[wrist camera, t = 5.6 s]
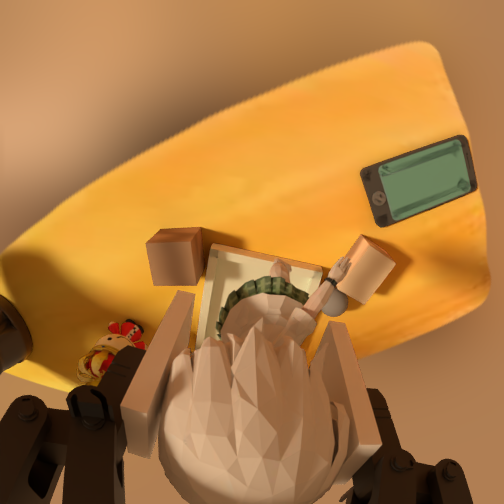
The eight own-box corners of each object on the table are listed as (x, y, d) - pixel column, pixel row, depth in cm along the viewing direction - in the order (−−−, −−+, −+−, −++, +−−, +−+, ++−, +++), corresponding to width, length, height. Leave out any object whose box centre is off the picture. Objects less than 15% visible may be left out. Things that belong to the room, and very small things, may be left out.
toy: (165, 326, 42) (127, 405, 28) (145, 354, 44) (109, 428, 30) (123, 297, 40) (69, 366, 27) (106, 328, 43) (59, 395, 29)
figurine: (239, 345, 22) (207, 553, 8) (173, 290, 20) (68, 494, 6) (355, 250, 19) (472, 470, 5) (288, 177, 17) (350, 368, 3)
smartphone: (360, 171, 32) (466, 134, 28) (357, 169, 33) (461, 133, 30) (379, 231, 34) (478, 191, 31) (376, 228, 35) (473, 189, 32)
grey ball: (314, 304, 39) (317, 319, 36) (322, 280, 38) (326, 294, 34) (339, 309, 39) (344, 324, 36) (348, 285, 38) (355, 299, 34)
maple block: (331, 273, 37) (337, 289, 34) (360, 233, 35) (370, 245, 31) (356, 288, 38) (364, 304, 34) (385, 250, 36) (396, 263, 32)
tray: (197, 341, 42) (194, 349, 41) (213, 242, 37) (210, 248, 35) (288, 360, 42) (288, 368, 41) (320, 266, 37) (323, 272, 35)
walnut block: (167, 267, 38) (153, 285, 34) (160, 228, 37) (145, 243, 32) (205, 266, 38) (196, 285, 33) (200, 226, 36) (190, 241, 31)
